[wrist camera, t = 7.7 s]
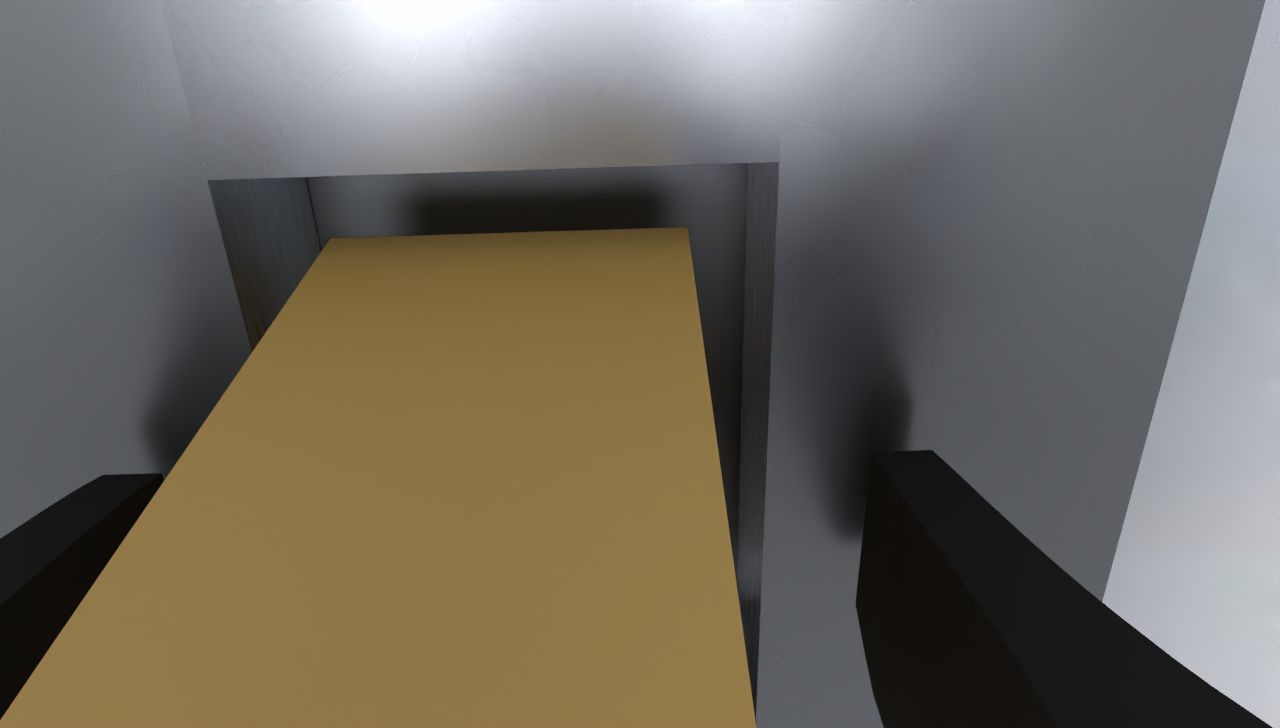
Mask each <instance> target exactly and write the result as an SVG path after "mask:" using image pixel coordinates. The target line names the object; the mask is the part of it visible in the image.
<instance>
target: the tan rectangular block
mask: <svg viewBox="0 0 1280 728" xmlns="http://www.w3.org/2000/svg"><path fill="white" fill-rule="evenodd" d="M0 728H756V721H755V714H754V706H753V699H752V692H751V685H750V677H749V670H748V663H747V655H746V648H745V641H744V634H743V626H742V619H741V612H740V605H739V597H738V590H737V583H736V575H735V568H734V561H733V554H732V546H731V539H730V532H729V525H728V517H727V510H726V503H725V495H724V488H723V481H722V474H721V466H720V459H719V452H718V445H717V437H716V430H715V423H714V415H713V408H712V401H711V394H710V386H709V379H708V372H707V365H706V357H705V350H704V343H703V335H702V328H701V321H700V314H699V306H698V299H697V292H696V285H695V277H694V270H693V263H692V255H691V248H690V241H689V234H688V227H674V228H642V229H610V230H578V231H546V232H513V233H481V234H449V235H417V236H385V237H353V238H330V239H329V241H328V242H327V244H326V245H325V247H324V248H323V250H322V251H321V253H320V254H319V256H318V257H317V258H316V260H315V261H314V263H313V264H312V266H311V267H310V269H309V270H308V272H307V273H306V275H305V276H304V277H303V279H302V280H301V282H300V283H299V285H298V286H297V288H296V289H295V291H294V292H293V293H292V295H291V296H290V298H289V299H288V301H287V302H286V304H285V305H284V307H283V308H282V310H281V311H280V312H279V314H278V315H277V317H276V318H275V320H274V321H273V323H272V324H271V326H270V327H269V329H268V330H267V331H266V333H265V334H264V336H263V337H262V339H261V340H260V342H259V343H258V345H257V346H256V348H255V349H254V350H253V352H252V353H251V355H250V356H249V358H248V359H247V361H246V362H245V364H244V365H243V367H242V368H241V369H240V371H239V372H238V374H237V375H236V377H235V378H234V380H233V381H232V383H231V384H230V385H229V387H228V388H227V390H226V391H225V393H224V394H223V396H222V397H221V399H220V400H219V402H218V403H217V404H216V406H215V407H214V409H213V410H212V412H211V413H210V415H209V416H208V418H207V419H206V421H205V422H204V423H203V425H202V426H201V428H200V429H199V431H198V432H197V434H196V435H195V437H194V438H193V440H192V441H191V442H190V444H189V445H188V447H187V448H186V450H185V451H184V453H183V454H182V456H181V457H180V459H179V460H178V461H177V463H176V464H175V466H174V467H173V469H172V470H171V472H170V473H169V475H168V476H167V477H166V479H165V480H164V482H163V483H162V485H161V486H160V488H159V489H158V491H157V492H156V494H155V495H154V496H153V498H152V499H151V501H150V502H149V504H148V505H147V507H146V508H145V510H144V511H143V513H142V514H141V515H140V517H139V518H138V520H137V521H136V523H135V524H134V526H133V527H132V529H131V530H130V532H129V533H128V534H127V536H126V537H125V539H124V540H123V542H122V543H121V545H120V546H119V548H118V549H117V551H116V552H115V553H114V555H113V556H112V558H111V559H110V561H109V562H108V564H107V565H106V567H105V568H104V569H103V571H102V572H101V574H100V575H99V577H98V578H97V580H96V581H95V583H94V584H93V586H92V587H91V588H90V590H89V591H88V593H87V594H86V596H85V597H84V599H83V600H82V602H81V603H80V605H79V606H78V607H77V609H76V610H75V612H74V613H73V615H72V616H71V618H70V619H69V621H68V622H67V624H66V625H65V626H64V628H63V629H62V631H61V632H60V634H59V635H58V637H57V638H56V640H55V641H54V642H53V644H52V645H51V647H50V648H49V650H48V651H47V653H46V654H45V656H44V657H43V659H42V660H41V661H40V663H39V664H38V666H37V667H36V669H35V670H34V672H33V673H32V675H31V676H30V678H29V679H28V680H27V682H26V683H25V685H24V686H23V688H22V689H21V691H20V692H19V694H18V695H17V697H16V698H15V699H14V701H13V702H12V704H11V705H10V707H9V708H8V710H7V711H6V713H5V714H4V716H3V717H2V718H1V720H0Z"/></svg>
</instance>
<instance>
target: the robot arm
mask: <svg viewBox="0 0 1280 728" xmlns="http://www.w3.org/2000/svg"><path fill="white" fill-rule="evenodd" d="M163 482H164V478H163V475H162V473H148V474H114V475H101V476H100V477H98V478H96V479H94V480H92V481H91V482H89V483H87V484H85V485H83V486H82V487H80V488H78V489H77V490H75V491H73V492H72V493H70V494H68V495H67V496H65V497H63V498H62V499H60V500H59V501H57V502H56V503H54V504H52V505H51V506H49V507H48V508H46V509H45V510H43V511H41V512H40V513H38V514H37V515H35V516H34V517H32V518H31V519H29V520H28V521H26V522H25V523H23V524H22V525H20V526H19V527H17V528H16V529H14V530H13V531H11V532H9V533H8V534H6V535H5V536H3V537H2V538H0V720H1V718H2V717H3V716H4V714H5V713H6V711H7V710H8V708H9V707H10V705H11V704H12V702H13V701H14V699H15V698H16V697H17V695H18V694H19V692H20V691H21V689H22V688H23V686H24V685H25V683H26V682H27V680H28V679H29V678H30V676H31V675H32V673H33V672H34V670H35V669H36V667H37V666H38V664H39V663H40V661H41V660H42V659H43V657H44V656H45V654H46V653H47V651H48V650H49V648H50V647H51V645H52V644H53V642H54V641H55V640H56V638H57V637H58V635H59V634H60V632H61V631H62V629H63V628H64V626H65V625H66V624H67V622H68V621H69V619H70V618H71V616H72V615H73V613H74V612H75V610H76V609H77V607H78V606H79V605H80V603H81V602H82V600H83V599H84V597H85V596H86V594H87V593H88V591H89V590H90V588H91V587H92V586H93V584H94V583H95V581H96V580H97V578H98V577H99V575H100V574H101V572H102V571H103V569H104V568H105V567H106V565H107V564H108V562H109V561H110V559H111V558H112V556H113V555H114V553H115V552H116V551H117V549H118V548H119V546H120V545H121V543H122V542H123V540H124V539H125V537H126V536H127V534H128V533H129V532H130V530H131V529H132V527H133V526H134V524H135V523H136V521H137V520H138V518H139V517H140V515H141V514H142V513H143V511H144V510H145V508H146V507H147V505H148V504H149V502H150V501H151V499H152V498H153V496H154V495H155V494H156V492H157V491H158V489H159V488H160V486H161V485H162V483H163ZM855 604H856V610H857V615H858V620H859V626H860V631H861V636H862V642H863V647H864V652H865V657H866V662H867V667H868V672H869V677H870V681H871V686H872V691H873V695H874V698H875V702H876V705H877V708H878V711H879V714H880V718H881V721H882V724H883V727H884V728H1272V727H1271V726H1270V725H1268V724H1267V723H1265V722H1264V721H1262V720H1261V719H1259V718H1258V717H1256V716H1255V715H1253V714H1252V713H1250V712H1249V711H1247V710H1246V709H1245V708H1243V707H1242V706H1240V705H1239V704H1237V703H1236V702H1234V701H1233V700H1231V699H1230V698H1228V697H1227V696H1225V695H1224V694H1222V693H1221V692H1219V691H1218V690H1217V689H1215V688H1214V687H1212V686H1211V685H1209V684H1208V683H1207V682H1205V681H1204V680H1202V679H1201V678H1200V677H1198V676H1197V675H1195V674H1194V673H1193V672H1191V671H1190V670H1189V669H1187V668H1186V667H1184V666H1183V665H1182V664H1180V663H1179V662H1178V661H1176V660H1175V659H1174V658H1172V657H1171V656H1170V655H1168V654H1167V653H1166V652H1165V651H1163V650H1162V649H1161V648H1159V647H1158V646H1157V645H1156V644H1154V643H1153V642H1152V641H1150V640H1149V639H1148V638H1147V637H1145V636H1144V635H1143V634H1141V633H1140V632H1139V631H1138V630H1136V629H1135V628H1134V627H1132V626H1131V625H1130V624H1129V623H1127V622H1126V621H1125V620H1123V619H1122V618H1121V617H1120V616H1118V615H1117V614H1116V613H1114V612H1113V611H1112V610H1111V609H1110V608H1108V607H1107V606H1106V605H1105V604H1104V603H1102V602H1101V601H1100V600H1099V599H1097V598H1096V597H1095V596H1094V595H1093V594H1091V593H1090V592H1089V591H1088V590H1087V589H1085V588H1084V587H1083V586H1082V585H1081V584H1079V583H1078V582H1077V581H1076V580H1075V579H1074V578H1072V577H1071V576H1070V575H1069V574H1068V573H1067V572H1065V571H1064V570H1063V569H1062V568H1061V567H1060V566H1058V565H1057V564H1056V563H1055V562H1054V561H1053V560H1052V559H1050V558H1049V557H1048V556H1047V555H1046V554H1045V553H1044V552H1042V551H1041V550H1040V549H1039V548H1038V547H1037V546H1036V545H1035V544H1033V543H1032V542H1031V541H1030V540H1029V539H1028V538H1027V537H1026V536H1025V535H1023V534H1022V533H1021V532H1020V531H1019V530H1018V529H1017V528H1016V527H1015V526H1014V525H1012V524H1011V523H1010V522H1009V521H1008V520H1007V519H1006V518H1005V517H1004V516H1003V515H1002V514H1001V513H999V512H998V511H997V510H996V509H995V508H994V507H993V506H992V505H991V504H990V503H989V502H988V501H987V500H985V499H984V498H983V497H982V496H981V495H980V494H979V493H978V492H977V491H976V490H975V489H974V488H973V487H972V486H971V485H969V484H968V483H967V482H966V481H965V480H964V479H963V478H962V477H961V476H960V475H959V474H958V473H957V472H956V471H955V470H954V469H952V468H951V467H950V466H949V465H948V464H947V463H946V462H945V461H944V460H943V459H942V458H940V457H939V456H938V455H937V454H936V453H935V452H934V451H933V450H913V451H880V452H871V461H870V470H869V480H868V489H867V499H866V508H865V517H864V527H863V536H862V546H861V555H860V565H859V574H858V584H857V593H856V603H855Z"/></svg>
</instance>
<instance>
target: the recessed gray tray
mask: <svg viewBox="0 0 1280 728" xmlns="http://www.w3.org/2000/svg"><path fill="white" fill-rule="evenodd" d="M1264 3H1265V0H0V538H2V537H3V536H5V535H6V534H8V533H9V532H11V531H13V530H14V529H16V528H17V527H19V526H20V525H22V524H23V523H25V522H26V521H28V520H29V519H31V518H32V517H34V516H35V515H37V514H38V513H40V512H41V511H43V510H45V509H46V508H48V507H49V506H51V505H52V504H54V503H56V502H57V501H59V500H60V499H62V498H63V497H65V496H67V495H68V494H70V493H72V492H73V491H75V490H77V489H78V488H80V487H82V486H83V485H85V484H87V483H89V482H91V481H92V480H94V479H96V478H98V477H100V476H101V475H114V474H148V473H162V475H163V478H164V480H165V479H166V477H167V476H168V475H169V473H170V472H171V470H172V469H173V467H174V466H175V464H176V463H177V461H178V460H179V459H180V457H181V456H182V454H183V453H184V451H185V450H186V448H187V447H188V445H189V444H190V442H191V441H192V440H193V438H194V437H195V435H196V434H197V432H198V431H199V429H200V428H201V426H202V425H203V423H204V422H205V421H206V419H207V418H208V416H209V415H210V413H211V412H212V410H213V409H214V407H215V406H216V404H217V403H218V402H219V400H220V399H221V397H222V396H223V394H224V393H225V391H226V390H227V388H228V387H229V385H230V384H231V383H232V381H233V380H234V378H235V377H236V375H237V374H238V372H239V371H240V369H241V368H242V367H243V365H244V364H245V362H246V361H247V359H248V358H249V356H250V355H251V353H252V352H253V350H254V349H255V348H256V346H257V345H258V343H259V342H260V340H261V339H262V337H263V336H264V334H265V333H266V331H267V330H268V329H269V327H270V326H271V324H272V323H273V321H274V320H275V318H276V317H277V315H278V314H279V312H280V311H281V310H282V308H283V307H284V305H285V304H286V302H287V301H288V299H289V298H290V296H291V295H292V293H293V292H294V291H295V289H296V288H297V286H298V285H299V283H300V282H301V280H302V279H303V277H304V276H305V275H306V273H307V272H308V270H309V269H310V267H311V266H312V264H313V263H314V261H315V260H316V258H317V257H318V256H319V254H320V253H321V250H320V245H319V240H318V235H317V230H316V225H315V220H314V216H313V211H312V206H311V201H310V196H309V191H308V186H307V182H306V177H320V176H352V175H383V174H414V173H446V172H477V171H509V170H540V169H572V168H603V167H634V166H666V165H697V164H729V163H748V164H747V204H746V243H745V283H744V322H743V361H742V401H741V440H740V480H739V519H738V558H737V590H738V597H739V605H740V612H741V619H742V626H743V634H744V641H745V648H746V655H747V663H748V670H749V677H750V685H751V692H752V699H753V706H754V714H755V721H756V728H884V727H883V724H882V721H881V718H880V714H879V711H878V708H877V705H876V702H875V698H874V695H873V691H872V686H871V681H870V677H869V672H868V667H867V662H866V657H865V652H864V647H863V642H862V636H861V631H860V626H859V620H858V615H857V610H856V604H855V603H856V593H857V584H858V574H859V565H860V555H861V546H862V536H863V527H864V517H865V508H866V499H867V489H868V480H869V470H870V461H871V452H880V451H913V450H933V451H934V452H935V453H936V454H937V455H938V456H939V457H940V458H942V459H943V460H944V461H945V462H946V463H947V464H948V465H949V466H950V467H951V468H952V469H954V470H955V471H956V472H957V473H958V474H959V475H960V476H961V477H962V478H963V479H964V480H965V481H966V482H967V483H968V484H969V485H971V486H972V487H973V488H974V489H975V490H976V491H977V492H978V493H979V494H980V495H981V496H982V497H983V498H984V499H985V500H987V501H988V502H989V503H990V504H991V505H992V506H993V507H994V508H995V509H996V510H997V511H998V512H999V513H1001V514H1002V515H1003V516H1004V517H1005V518H1006V519H1007V520H1008V521H1009V522H1010V523H1011V524H1012V525H1014V526H1015V527H1016V528H1017V529H1018V530H1019V531H1020V532H1021V533H1022V534H1023V535H1025V536H1026V537H1027V538H1028V539H1029V540H1030V541H1031V542H1032V543H1033V544H1035V545H1036V546H1037V547H1038V548H1039V549H1040V550H1041V551H1042V552H1044V553H1045V554H1046V555H1047V556H1048V557H1049V558H1050V559H1052V560H1053V561H1054V562H1055V563H1056V564H1057V565H1058V566H1060V567H1061V568H1062V569H1063V570H1064V571H1065V572H1067V573H1068V574H1069V575H1070V576H1071V577H1072V578H1074V579H1075V580H1076V581H1077V582H1078V583H1079V584H1081V585H1082V586H1083V587H1084V588H1085V589H1087V590H1088V591H1089V592H1090V593H1091V594H1093V595H1094V596H1095V597H1096V598H1097V599H1099V600H1100V601H1101V602H1102V600H1103V596H1104V592H1105V589H1106V585H1107V581H1108V577H1109V574H1110V570H1111V566H1112V563H1113V559H1114V555H1115V552H1116V548H1117V544H1118V541H1119V537H1120V533H1121V530H1122V526H1123V522H1124V519H1125V515H1126V511H1127V507H1128V504H1129V500H1130V496H1131V493H1132V489H1133V485H1134V482H1135V478H1136V474H1137V471H1138V467H1139V463H1140V460H1141V456H1142V452H1143V449H1144V445H1145V441H1146V437H1147V434H1148V430H1149V426H1150V423H1151V419H1152V415H1153V412H1154V408H1155V404H1156V401H1157V397H1158V393H1159V390H1160V386H1161V382H1162V378H1163V375H1164V371H1165V367H1166V364H1167V360H1168V356H1169V353H1170V349H1171V345H1172V342H1173V338H1174V334H1175V331H1176V327H1177V323H1178V320H1179V316H1180V312H1181V308H1182V305H1183V301H1184V297H1185V294H1186V290H1187V286H1188V283H1189V279H1190V275H1191V272H1192V268H1193V264H1194V261H1195V257H1196V253H1197V249H1198V246H1199V242H1200V238H1201V235H1202V231H1203V227H1204V224H1205V220H1206V216H1207V213H1208V209H1209V205H1210V202H1211V198H1212V194H1213V191H1214V187H1215V183H1216V179H1217V176H1218V172H1219V168H1220V165H1221V161H1222V157H1223V154H1224V150H1225V146H1226V143H1227V139H1228V135H1229V132H1230V128H1231V124H1232V121H1233V117H1234V113H1235V109H1236V106H1237V102H1238V98H1239V95H1240V91H1241V87H1242V84H1243V80H1244V76H1245V73H1246V69H1247V65H1248V62H1249V58H1250V54H1251V50H1252V47H1253V43H1254V39H1255V36H1256V32H1257V28H1258V25H1259V21H1260V17H1261V14H1262V10H1263V6H1264Z"/></svg>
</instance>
